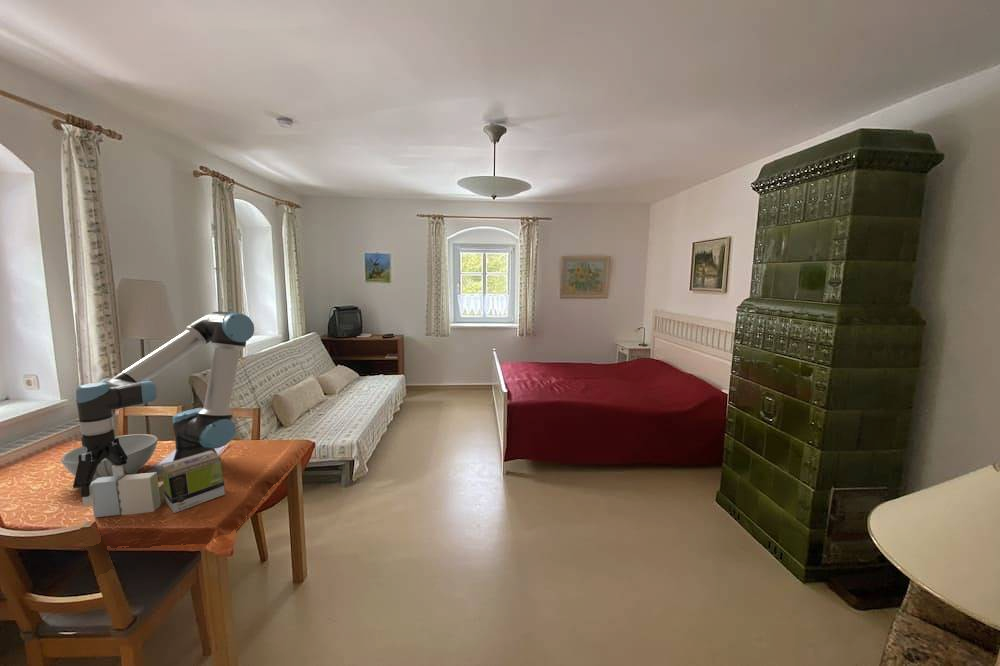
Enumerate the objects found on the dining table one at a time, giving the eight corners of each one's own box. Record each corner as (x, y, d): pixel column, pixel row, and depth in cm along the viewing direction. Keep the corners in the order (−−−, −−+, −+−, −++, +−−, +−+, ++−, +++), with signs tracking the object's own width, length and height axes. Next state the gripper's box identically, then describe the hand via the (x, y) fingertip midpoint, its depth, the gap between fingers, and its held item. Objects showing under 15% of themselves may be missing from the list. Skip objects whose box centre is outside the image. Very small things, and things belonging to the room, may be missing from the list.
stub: (103, 510, 133) (98, 477, 131) (128, 507, 134) (123, 475, 133) (94, 517, 129) (89, 483, 127) (120, 514, 130) (115, 481, 129)
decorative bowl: (103, 498, 140) (98, 466, 139) (45, 490, 146) (40, 459, 144) (177, 464, 166) (174, 436, 165) (127, 458, 172) (123, 431, 170)
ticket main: (139, 500, 139) (134, 467, 138) (169, 497, 141) (165, 464, 140) (121, 515, 130) (116, 480, 129) (153, 511, 133) (149, 477, 131)
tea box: (216, 486, 149) (212, 448, 147) (225, 495, 143) (221, 456, 141) (165, 503, 137) (160, 463, 135) (172, 514, 131) (167, 472, 129)
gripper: (111, 419, 139) (117, 477, 141) (49, 448, 115) (59, 517, 117) (136, 417, 140) (142, 474, 143) (81, 445, 116) (90, 513, 119)
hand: (105, 494), depth 130 cm, fingers open, 13 cm apart
